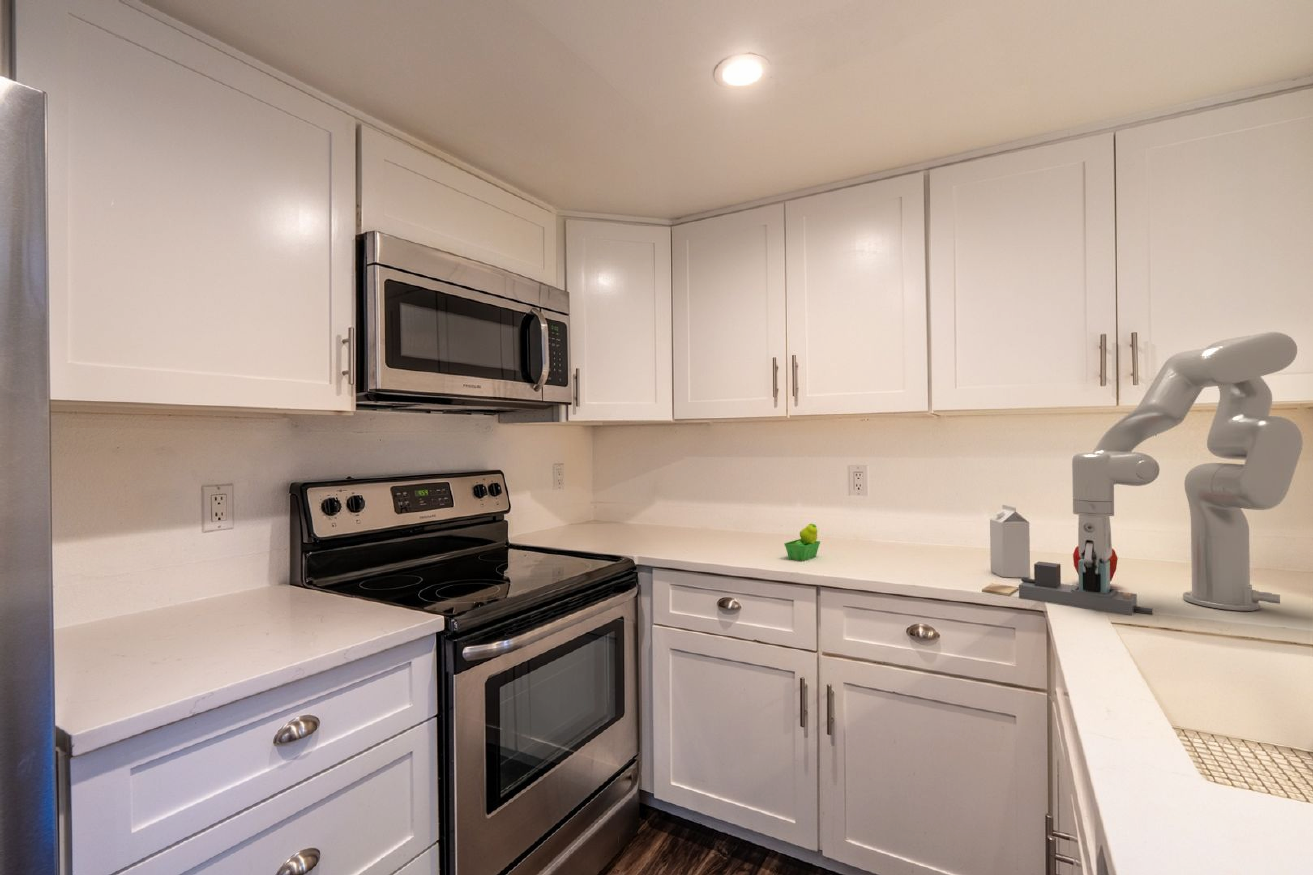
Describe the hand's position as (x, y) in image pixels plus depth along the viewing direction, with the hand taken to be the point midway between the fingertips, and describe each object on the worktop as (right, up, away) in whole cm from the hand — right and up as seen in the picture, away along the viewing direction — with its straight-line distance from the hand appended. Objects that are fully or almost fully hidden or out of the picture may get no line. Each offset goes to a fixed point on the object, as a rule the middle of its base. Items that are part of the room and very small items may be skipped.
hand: (1094, 587), depth 133 cm
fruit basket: (-51, -5, +56) cm, 76 cm away
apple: (+13, -4, +17) cm, 22 cm away
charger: (0, -1, 0) cm, 1 cm away
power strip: (-1, -4, +2) cm, 5 cm away
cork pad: (-13, -4, +14) cm, 19 cm away
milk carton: (-1, -4, +30) cm, 30 cm away
